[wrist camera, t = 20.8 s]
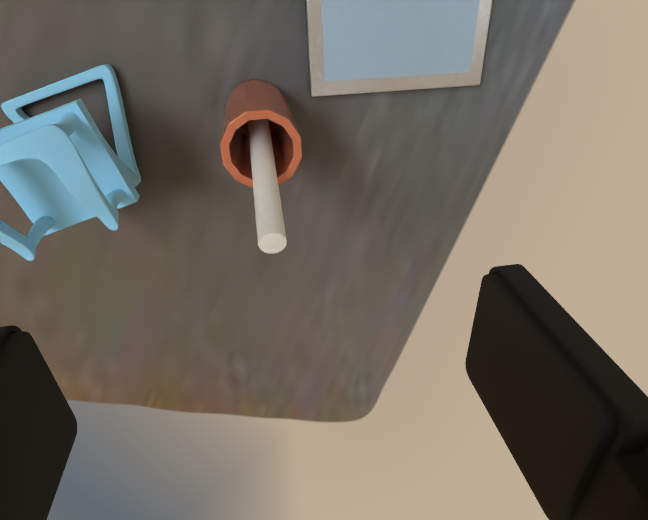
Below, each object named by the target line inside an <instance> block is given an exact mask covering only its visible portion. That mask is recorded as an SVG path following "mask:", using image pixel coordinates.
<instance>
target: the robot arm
mask: <svg viewBox="0 0 648 520" xmlns="http://www.w3.org/2000/svg"><path fill="white" fill-rule="evenodd" d="M466 371H467V373H468V376H469V379H470V380H471V382H472V384H473V386H474V387H475V389H476V391H477V393H478V395H479V397H480V398H481V400H482V402H483V404H484V405H485V407H486V409H487V411H488V413H489V414H490V416H491V418H492V420H493V422H494V423H495V425H496V427H497V429H498V430H499V432H500V434H501V436H502V438H503V439H504V441H505V443H506V445H507V447H508V448H509V450H510V452H511V454H512V455H513V457H514V459H515V461H516V463H517V464H518V466H519V468H520V470H521V472H522V473H523V475H524V477H525V479H526V481H527V482H528V484H529V486H530V488H531V490H532V491H533V493H534V495H535V497H536V499H537V500H538V502H539V504H540V506H541V507H542V509H543V511H544V513H545V514H546V516H547V517H548V519H549V520H648V397H647V396H646V395H645V394H644V393H643V391H642V390H640V388H639V387H638V386H637V385H636V384H635V383H634V382H633V381H632V380H631V379H630V378H629V377H628V376H627V375H626V374H625V373H624V371H623V370H622V369H621V368H619V366H618V365H617V364H616V363H615V362H614V361H613V360H612V359H611V358H610V357H609V356H608V355H607V354H606V353H605V352H604V350H602V348H601V347H600V346H599V345H598V344H597V343H596V342H595V341H594V340H593V339H592V338H591V337H590V336H589V335H588V334H587V333H586V332H585V331H584V330H583V328H582V327H581V326H580V325H579V324H578V323H577V322H576V321H575V320H574V319H573V318H572V317H571V316H570V315H569V314H568V313H567V312H566V311H565V310H564V308H562V307H561V305H560V304H559V303H558V302H557V301H556V300H555V299H554V298H553V297H552V296H551V295H550V294H549V293H548V292H547V291H546V290H545V289H544V287H542V285H541V284H539V282H538V281H537V280H536V279H535V278H534V277H533V276H532V275H531V274H530V273H529V272H528V271H527V270H526V269H525V268H524V267H523V266H522V265H519V264H515V265H506V266H498V267H493V268H492V269H491V270H490V272H489V274H487V275H485V276H484V277H483V279H482V283H481V287H480V292H479V297H478V302H477V307H476V312H475V317H474V322H473V327H472V332H471V337H470V342H469V347H468V352H467V357H466ZM76 434H77V421H76V418H75V416H74V414H73V412H72V410H71V408H70V407H69V405H68V403H67V401H66V399H65V397H64V395H63V393H62V392H61V390H60V388H59V386H58V384H57V382H56V380H55V379H54V377H53V375H52V373H51V371H50V369H49V367H48V365H47V364H46V362H45V360H44V358H43V356H42V354H41V352H40V351H39V349H38V347H37V345H36V343H35V341H34V339H33V338H32V336H31V335H30V333H28V332H22V331H21V329H20V328H18V327H17V326H5V327H0V520H47V517H48V514H49V511H50V508H51V505H52V502H53V500H54V497H55V494H56V491H57V488H58V485H59V482H60V480H61V477H62V474H63V471H64V469H65V466H66V463H67V460H68V457H69V454H70V452H71V449H72V446H73V443H74V440H75V437H76Z"/></svg>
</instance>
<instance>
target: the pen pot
mask: <svg viewBox="0 0 648 520" xmlns="http://www.w3.org/2000/svg"><path fill="white" fill-rule="evenodd" d="M258 119H268V120H269V127H270V134H271V140H272V147H273V154H274V160H275V167H276V174H277V180H278V186H279V185H280V184H282V183H283V182H285V181H286V180H288V179H289V178H291V177H292V176H293V175H294V173H295V171H296V169H297V167H298V165H299V163H300V161H301V159H302V147H301V137H300V134H299V132H298V129H297V127H296V124H295V121H294V119H293V116H292V113H291V111H290V108H289V106H288V103H287V101H286V100H285V98H284V96H283V95H282V93H281V92H280V91H279V89H278V88H276V87H275V86H274V85H272V84H270V83H268V82H266V81H262V80H249V81H245V82H243V83H241V84H239V85H238V86H236V87H235V88H234V89H233V90H232V91H231V92H230V95H229V97H228V99H227V102H226V105H225V107H224V115H223V123H222V131H221V140H220V149H221V155H222V161H223V165H224V166H225V168H226V169H227V170H228V171H229V173H230V174H231V175H232V176H233V178H234V179H235V180H236V181H237V182H240V183H242V184H245V185H247V186H249V187H252V188H253V178H252V167H251V155H250V143H249V131H248V121H249V120H258Z"/></svg>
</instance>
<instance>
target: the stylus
mask: <svg viewBox="0 0 648 520" xmlns="http://www.w3.org/2000/svg"><path fill="white" fill-rule="evenodd" d="M248 131H249V143H250V155H251V167H252V178H253V190H254V202H255V214H256V226H257V237H258V246H259V248H260V249H261V250H262V251H263V252H266V253H277V252H280V251H282V250H283V249H284V248H285V246H286V243H287V241H286V234H285V227H284V221H283V214H282V207H281V201H280V194H279V187H278V180H277V174H276V167H275V160H274V154H273V147H272V140H271V134H270V127H269V120H268V119H258V120H249V121H248Z"/></svg>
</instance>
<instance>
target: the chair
mask: <svg viewBox="0 0 648 520" xmlns="http://www.w3.org/2000/svg"><path fill="white" fill-rule="evenodd" d="M97 79H102V80H103V81H104V84H105V89H106V94H107V100H108V106H109V111H110V117H111V123H112V129H113V135H114V140H115V146H116V151H117V156H118V157H117V156H116V154H115V153H114V151H113V150H112V149H111V147H110V146H109V144H108V143H107V141H106V140H105V139H104V137H103V136H102V134H101V133H100V131H99V129H98V127H97V125H96V124H95V122H94V120H93V118H92V117H91V115H90V113H89V112H88V110H87V109H86V107H85V105H84V104H83V102H82V100H81V99H78V100H75V101H73V102H70V103H67V104H65V105H62V106H59V107H57V108H54V109H52V110H49V111H47V112H44V113H41V114H39V115H36V116H34V117H31V118H30V117H29V116H28V115H27V114H25V113H24V112H23V110H22V109H21V107H22V106H24V105H27V104H30V103H32V102H35V101H38V100H41V99H44V98H46V97H49V96H52V95H55V94H58V93H60V92H63V91H66V90H69V89H72V88H75V87H77V86H80V85H83V84H86V83H89V82H91V81H94V80H97ZM1 108H2V110H3V112H4V113H5V114H6V116H7V117H8V118H9V119H11V120H12V121H13V122H14V123H15V124H12V125H9V126H6V127H4V128H1V129H0V181H1V182H2V183H3V184H4V186H5V187H6V188H7V189H8V191H9V192H10V193H11V194H12V196H13V197H14V198H15V199H16V201H17V202H18V204H19V205H20V206H21V208H22V209H23V210H24V212H25V213H26V215H27V216H28V217H29V219H30V220H31V221H32V223H33V226H32V228H31V230H30V231H29V233H28V235H27V237H26V236H24V235H22V234H20V233H19V232H17V231H15V230H14V229H12V228H11V227H10V226H8V225H7V224H6V223H4V222H3V221H2V220H1V219H0V243H1V244H3V245H5V246H7V247H9V248H11V249H12V250H14V251H15V252H17V253H18V254H19V255H21V256H22V257H23V258H25V259H26V260H28V261H32V260H34V258H35V252H36V247H37V245H38V243H39V242H40V240H41V239H42V237H43V236H45V235H48V234H50V233H53V232H56V231H59V230H61V229H64V228H66V227H69V226H72V225H74V224H77V223H79V222H82V221H85V220H87V219H90V218H93V217H96V216H97V217H98V218H99V219H100V220H101V221H102V222H103V223H104V224H105V225H106V226H107V227H108V228H109V229H110V230H113V231H114V230H117V229H118V218H119V214H118V209H119V208H122V207H125V206H127V205H130V204H133V203H135V202H137V201H138V199H139V197H140V196H139V194H138V192H137V191H136V189H135V187H136V186H137V185H138V184H139V183H140V182H141V176H140V173H139V170H138V167H137V164H136V160H135V157H134V153H133V148H132V144H131V139H130V134H129V130H128V125H127V120H126V115H125V110H124V105H123V100H122V96H121V92H120V87H119V83H118V80H117V77H116V74H115V72H114V70H113V68H112V67H111V65H108V64H103V65H100V66H97V67H95V68H92V69H89V70H87V71H84V72H82V73H79V74H76V75H74V76H71V77H68V78H66V79H63V80H61V81H58V82H55V83H53V84H50V85H47V86H45V87H42V88H40V89H37V90H34V91H32V92H29V93H26V94H24V95H21V96H19V97H16V98H13V99H11V100H8V101H5V102H4V103H3V104H2V105H1Z"/></svg>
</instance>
